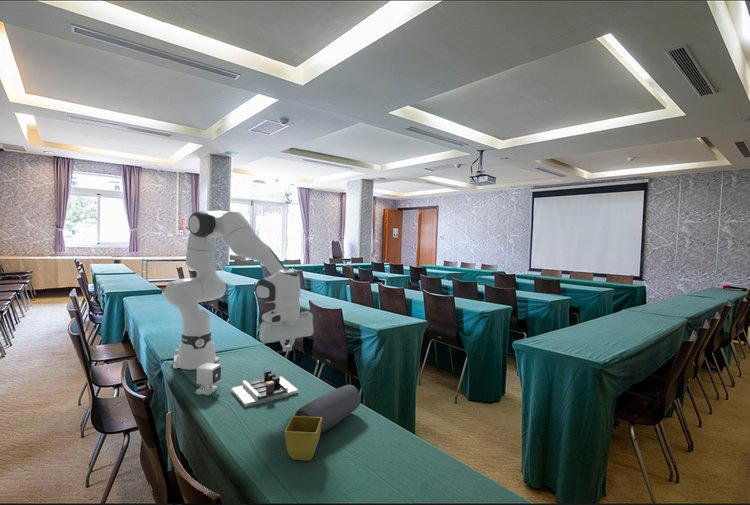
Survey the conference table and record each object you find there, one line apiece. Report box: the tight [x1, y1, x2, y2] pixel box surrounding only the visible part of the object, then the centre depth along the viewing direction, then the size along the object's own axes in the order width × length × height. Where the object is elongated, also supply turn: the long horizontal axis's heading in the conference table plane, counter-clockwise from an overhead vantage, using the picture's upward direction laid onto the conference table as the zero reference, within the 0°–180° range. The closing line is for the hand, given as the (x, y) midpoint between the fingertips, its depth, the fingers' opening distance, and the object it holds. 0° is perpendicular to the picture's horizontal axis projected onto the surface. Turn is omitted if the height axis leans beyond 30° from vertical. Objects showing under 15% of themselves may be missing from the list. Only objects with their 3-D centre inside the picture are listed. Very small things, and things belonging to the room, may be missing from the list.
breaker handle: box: [266, 381, 274, 393], centre depth 138 cm, size 2×2×4 cm
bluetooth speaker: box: [293, 384, 362, 433], centre depth 121 cm, size 23×9×10 cm, turn 145°
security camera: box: [195, 363, 223, 396], centre depth 143 cm, size 6×7×10 cm
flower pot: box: [284, 415, 322, 461], centre depth 105 cm, size 9×9×9 cm
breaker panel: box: [231, 369, 299, 408], centre depth 143 cm, size 15×20×6 cm
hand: (287, 350), depth 141 cm, fingers closed
